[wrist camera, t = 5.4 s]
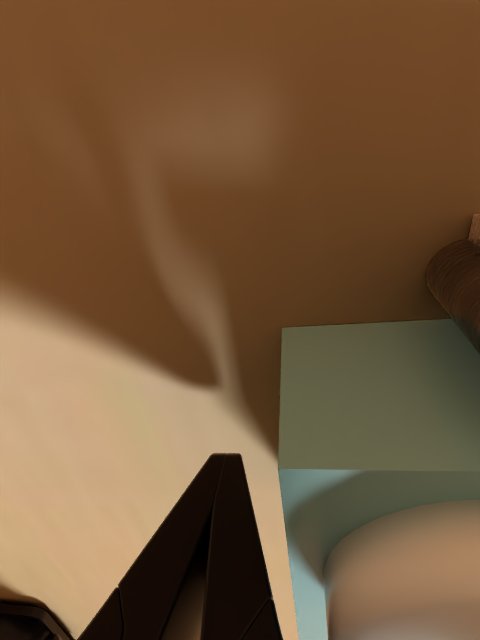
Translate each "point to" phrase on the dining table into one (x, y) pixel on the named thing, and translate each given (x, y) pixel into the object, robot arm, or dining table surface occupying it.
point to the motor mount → (459, 282)
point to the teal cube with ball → (381, 480)
